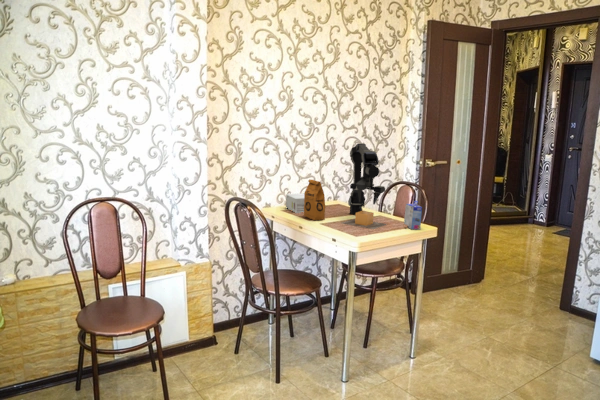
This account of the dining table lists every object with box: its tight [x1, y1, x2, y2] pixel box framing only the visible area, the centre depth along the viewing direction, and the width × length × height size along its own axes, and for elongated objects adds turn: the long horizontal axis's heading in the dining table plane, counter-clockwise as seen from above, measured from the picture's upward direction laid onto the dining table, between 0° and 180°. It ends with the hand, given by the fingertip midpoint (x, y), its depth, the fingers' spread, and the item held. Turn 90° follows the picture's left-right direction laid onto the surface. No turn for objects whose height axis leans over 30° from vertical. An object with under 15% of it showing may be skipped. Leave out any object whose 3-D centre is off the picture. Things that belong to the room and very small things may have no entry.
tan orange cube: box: [354, 210, 374, 226], centre depth 240 cm, size 7×7×6 cm
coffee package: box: [303, 179, 326, 221], centre depth 253 cm, size 10×12×22 cm
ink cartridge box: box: [403, 200, 423, 230], centre depth 238 cm, size 10×6×14 cm, turn 11°
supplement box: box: [285, 192, 305, 214], centre depth 278 cm, size 17×13×9 cm
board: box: [341, 218, 388, 230], centre depth 240 cm, size 20×16×1 cm
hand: (366, 203), depth 243 cm, fingers open, 9 cm apart
